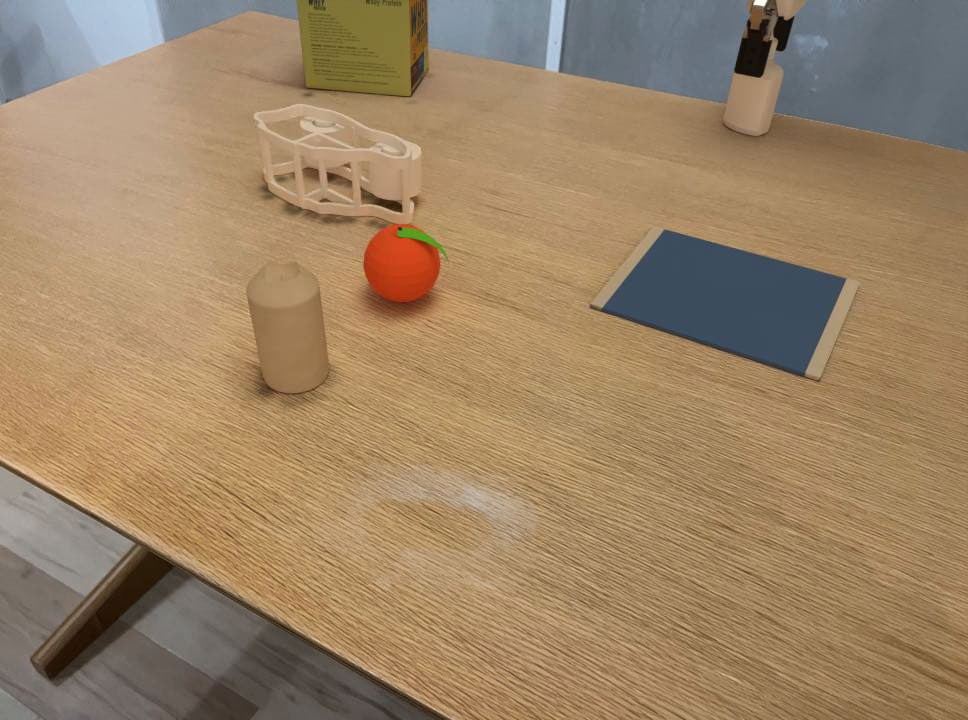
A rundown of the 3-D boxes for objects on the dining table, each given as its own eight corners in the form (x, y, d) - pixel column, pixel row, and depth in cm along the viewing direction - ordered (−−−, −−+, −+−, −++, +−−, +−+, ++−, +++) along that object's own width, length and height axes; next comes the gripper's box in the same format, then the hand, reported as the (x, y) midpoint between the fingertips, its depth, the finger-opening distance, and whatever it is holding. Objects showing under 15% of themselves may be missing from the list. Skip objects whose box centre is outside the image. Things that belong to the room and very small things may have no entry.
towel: (859, 285, 76) (860, 281, 76) (818, 381, 66) (820, 377, 66) (653, 229, 84) (653, 225, 84) (589, 307, 74) (590, 303, 74)
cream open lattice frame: (444, 205, 89) (443, 140, 84) (368, 244, 83) (364, 177, 78) (323, 150, 99) (316, 89, 94) (248, 182, 93) (238, 119, 88)
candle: (249, 372, 68) (228, 270, 61) (302, 343, 71) (287, 242, 64) (290, 403, 65) (272, 299, 58) (343, 372, 68) (332, 269, 61)
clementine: (461, 284, 77) (462, 216, 73) (436, 326, 72) (436, 256, 68) (382, 269, 79) (378, 202, 75) (353, 309, 75) (347, 240, 70)
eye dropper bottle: (738, 139, 100) (764, 36, 92) (718, 120, 104) (741, 20, 96) (771, 136, 100) (800, 33, 92) (750, 117, 104) (776, 17, 96)
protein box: (412, 97, 111) (409, -29, 100) (304, 88, 113) (290, -35, 103) (430, 69, 118) (429, -51, 108) (328, 61, 121) (317, -56, 110)
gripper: (822, -87, 78) (772, 92, 90) (859, -119, 89) (810, 45, 100) (743, -95, 81) (705, 79, 93) (788, -125, 92) (749, 34, 103)
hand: (759, 61), depth 97 cm, fingers open, 9 cm apart
